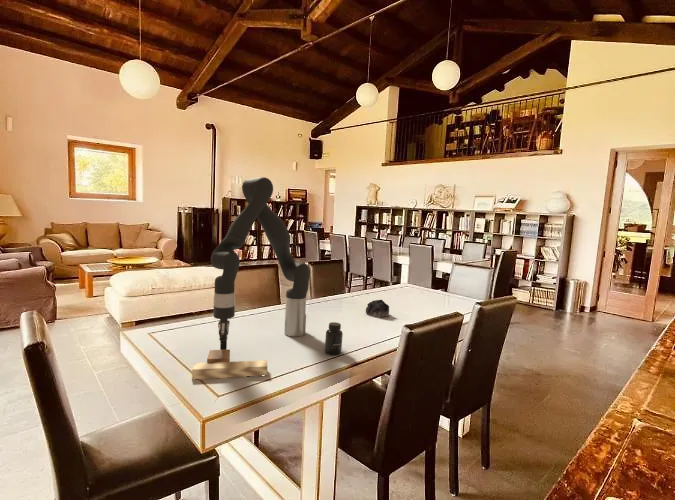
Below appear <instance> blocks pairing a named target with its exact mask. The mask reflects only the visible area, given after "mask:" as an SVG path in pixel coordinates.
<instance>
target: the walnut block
mask: <svg viewBox="0 0 675 500" xmlns="http://www.w3.org/2000/svg"><path fill="white" fill-rule="evenodd" d="M230 357H231V349H226V350H220V349H209V351H208V354H207V359H206V363H211V362H231V361H230V360H231V358H230Z"/></svg>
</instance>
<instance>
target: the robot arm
mask: <svg viewBox="0 0 675 500" xmlns="http://www.w3.org/2000/svg"><path fill="white" fill-rule="evenodd" d="M241 190H242V194H243V196H244V198H245V200H246V201H247V202H246V203H248V204H247V205H246V207H245V208H244V209H242V211H241V212H239V215H237V216H236V218H235V219H234V220H232V221H233V222H232V223H230V224H231V225H230V226H229V228H228V231H227V232H226V234H225V237H223V239H222V240H221V241H220V243H219V244H218V245H217V246H216V247H215V249H214V250H213V251H212V253H211V256H210V264H211V265H212V267H213V268H215V269H218V270H223V271H222V273H221V274H222V275H219V276H217V277H215V278H214V295H213V317H214V319H216V320H217V319H218V323H217V327H218V335H219V337H218V338H219V341H220V342H219V343H220V345H219V347H220V349H219V350H228V337H229V336H228V335H229V333H230V330H229V329H230V323H231V321H230V319H232V318H234V317H235V316H236V315H235V312H236V311H235V310H236V296H235V287H236V286H235V284H236V282H235V281H236V278H237V274H238V272H239V271H238V270H239V268H240V257H239V255H238V253H236V252H235V251H234V250H237V249H241V248H242V247H243V245H244V244H245V242H246V239H247V237H248V236H249V233H250V231H251V228H252V226H253V225H254V223H255V221H256V220H257V221H258V222H259V224H260V226H261V227H262V230H263V231H264V234H265V237H267V240H268V242H269V244H270V246H271V247H272V250H273V252H274V254H275V255H276V258H277V260H278V264H279V266H280V269H281V271H282V274H283V276H284V278H285V279H286V280H287V281H290V282H293V284H292V288H289V289H287V290H286V292H285V308H284V310H285V311H284V312H285V313H284V335H285V336H288V337H301V336H302V337H303V336H306V330H307V329H306V328H307V327H306V326H307V313H306V309H307V304H306V303H307V294H308V292H309V288H310V287H309V286H310V276H311V274H310V273H311V272H310V267H309V265H308V264H307V263H305V262H299V261H296V260H295V258H294V257H293V255H292V252H291V249H290V247H291V235H290V232H289V230H288V228H287V225H286V224H285V222H284V220H282V218H281V217H280V216H279V215H278V214H277V213H276V212H275V211H273V209H271V208H270V206H269V204H268V203H269V200H270V199H271V198H272V195H273V192H274V185H273V182H272V181H271V180H270V179H269V178H267V177H264V176H261V177H260V176H259V177H251V178H245V180H244V181H243V182H242V186H241ZM228 319H229V320H228Z"/></svg>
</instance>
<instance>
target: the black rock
mask: <svg viewBox="0 0 675 500" xmlns="http://www.w3.org/2000/svg"><path fill="white" fill-rule="evenodd" d="M366 313H367V316H370V315H371V316H370V317H373V316H375V317H374V318H382V317H381V316H385V317H388V316H389V315H390V305H388V304H387V303H386V302H385V301H384V300H383V299H376V300H372V301H369V303H367V304H366V308H365V314H366Z"/></svg>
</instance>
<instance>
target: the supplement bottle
mask: <svg viewBox="0 0 675 500" xmlns="http://www.w3.org/2000/svg"><path fill="white" fill-rule="evenodd" d="M341 327H342V324H341V323H340V322H333V321H332V322H329V323H328V329H327V330H326V331H325V338H324V339H325V341H324V353H325V354H327V355H328V354H329V356H339V355H340V354H342V348H343V331H342V330H341V329H342V328H341Z"/></svg>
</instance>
